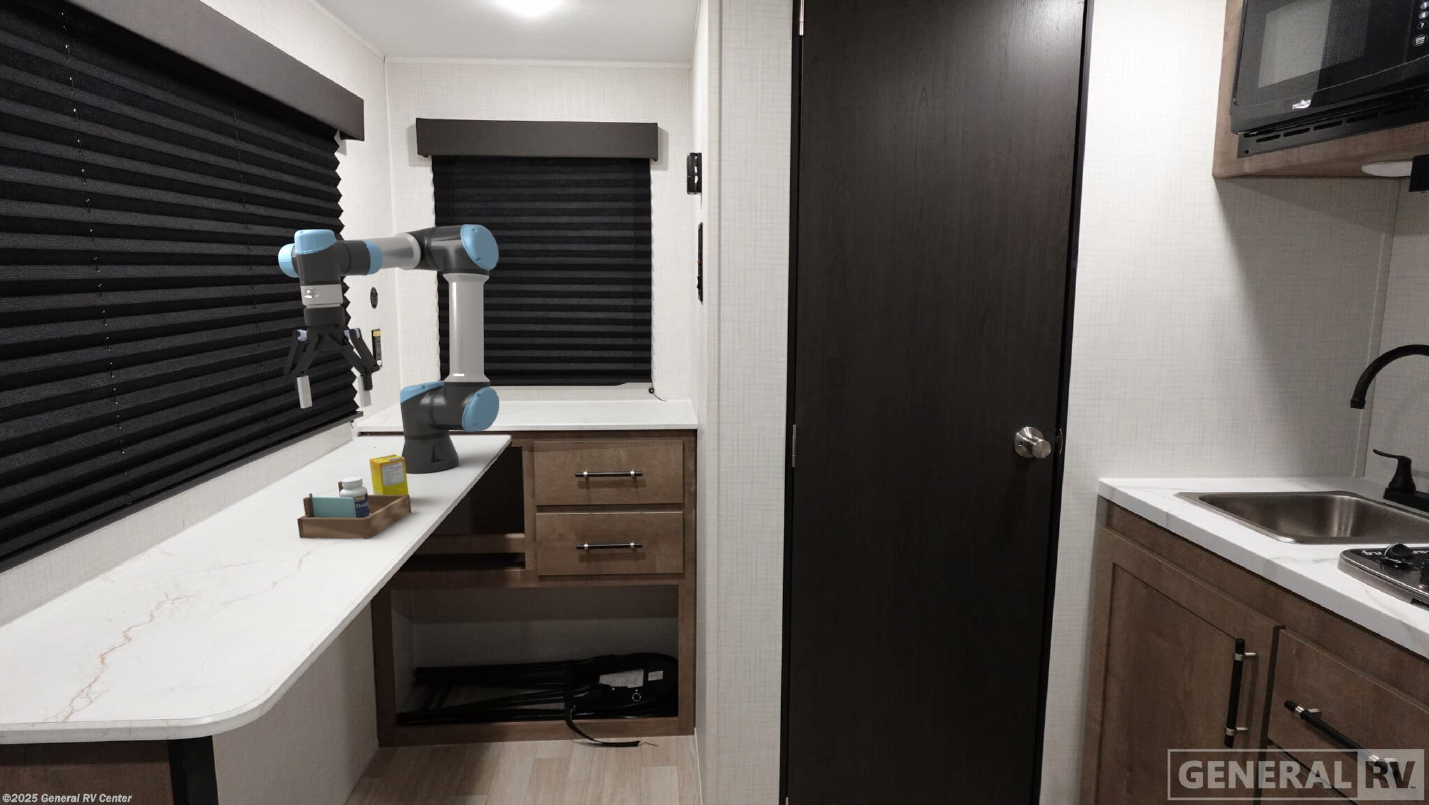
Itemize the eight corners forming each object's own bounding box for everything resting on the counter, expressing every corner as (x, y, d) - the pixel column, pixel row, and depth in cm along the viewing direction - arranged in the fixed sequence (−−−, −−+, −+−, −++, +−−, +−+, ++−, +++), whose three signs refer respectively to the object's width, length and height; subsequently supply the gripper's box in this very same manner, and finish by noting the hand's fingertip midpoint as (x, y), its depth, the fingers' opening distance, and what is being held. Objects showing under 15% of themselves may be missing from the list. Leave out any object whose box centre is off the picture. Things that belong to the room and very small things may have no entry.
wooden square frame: (348, 511, 175) (344, 477, 173) (411, 512, 173) (407, 477, 171) (299, 538, 158) (294, 500, 157) (368, 538, 156) (364, 500, 155)
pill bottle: (360, 527, 163) (354, 482, 162) (337, 526, 165) (332, 482, 163) (376, 519, 169) (371, 475, 167) (354, 518, 170) (349, 475, 168)
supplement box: (399, 498, 184) (394, 453, 182) (410, 503, 180) (405, 457, 178) (373, 504, 180) (368, 458, 178) (384, 509, 175) (379, 462, 174)
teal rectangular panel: (357, 530, 161) (353, 497, 159) (355, 531, 160) (351, 498, 159) (318, 529, 162) (314, 496, 161) (316, 530, 162) (311, 497, 161)
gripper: (255, 309, 159) (270, 410, 163) (369, 305, 156) (382, 409, 160) (279, 306, 167) (293, 404, 170) (389, 302, 163) (400, 402, 167)
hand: (336, 406), depth 165 cm, fingers open, 13 cm apart
